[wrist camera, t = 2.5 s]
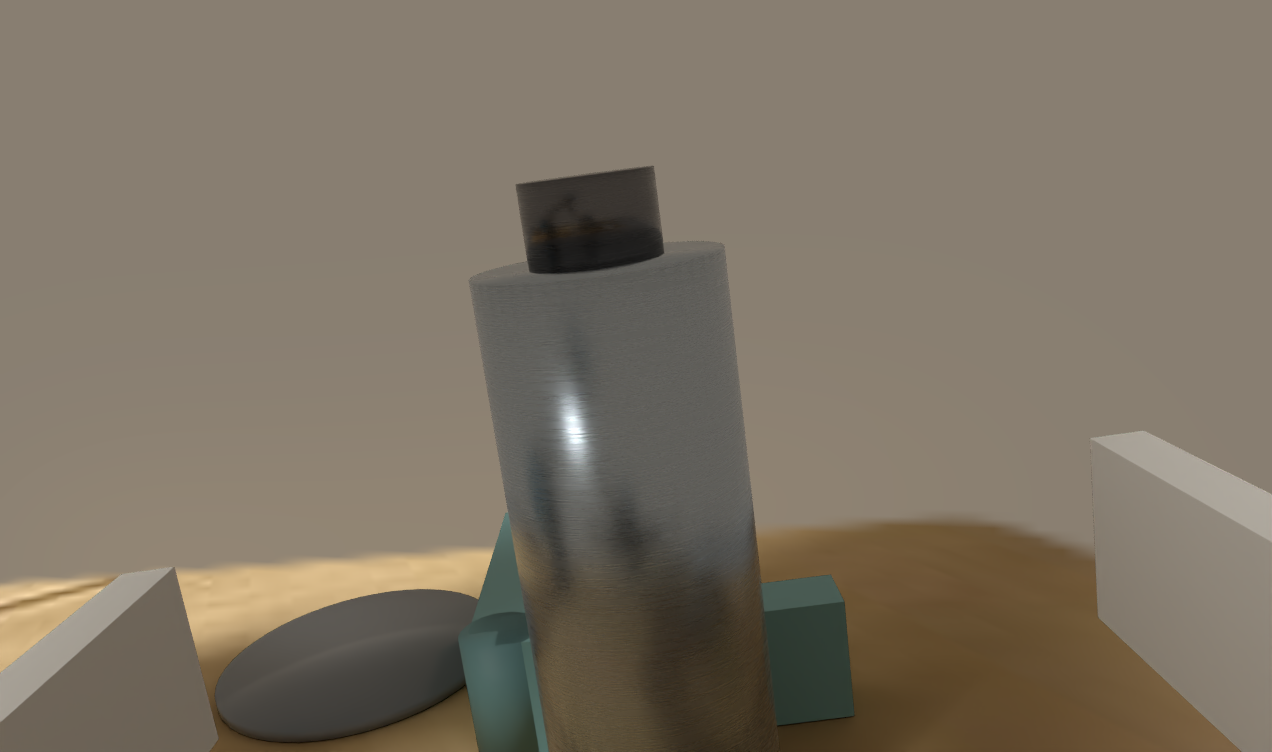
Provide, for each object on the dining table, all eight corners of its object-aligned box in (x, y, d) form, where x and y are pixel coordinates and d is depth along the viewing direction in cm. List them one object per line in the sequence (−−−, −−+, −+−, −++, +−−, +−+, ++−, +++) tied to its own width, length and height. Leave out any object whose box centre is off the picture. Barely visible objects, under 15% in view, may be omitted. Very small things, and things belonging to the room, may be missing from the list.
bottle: (563, 949, 23) (431, 198, 19) (573, 791, 29) (474, 188, 25) (809, 917, 23) (729, 158, 19) (770, 765, 29) (702, 157, 25)
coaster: (166, 760, 34) (163, 749, 34) (274, 614, 45) (272, 606, 44) (478, 720, 34) (477, 710, 34) (512, 584, 44) (511, 576, 44)
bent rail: (473, 769, 31) (451, 656, 30) (513, 598, 43) (499, 513, 42) (856, 721, 31) (846, 605, 30) (789, 563, 43) (780, 477, 42)
